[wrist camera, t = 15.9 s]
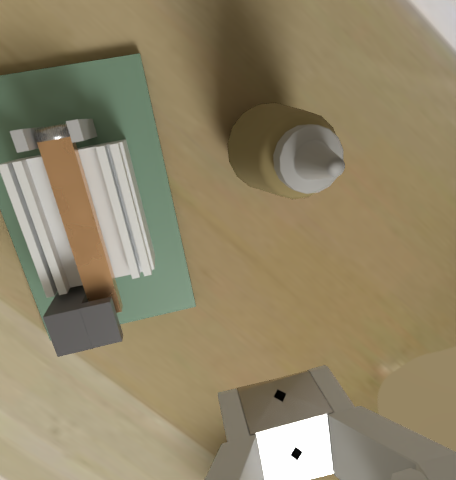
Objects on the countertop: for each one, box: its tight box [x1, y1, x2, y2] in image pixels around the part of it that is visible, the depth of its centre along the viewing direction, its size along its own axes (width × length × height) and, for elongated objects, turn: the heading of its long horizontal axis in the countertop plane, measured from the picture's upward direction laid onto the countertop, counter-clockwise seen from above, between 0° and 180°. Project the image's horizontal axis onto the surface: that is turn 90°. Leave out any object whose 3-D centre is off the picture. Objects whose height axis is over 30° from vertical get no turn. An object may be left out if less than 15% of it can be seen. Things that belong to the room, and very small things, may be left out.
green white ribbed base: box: [0, 53, 196, 340], centre depth 35 cm, size 26×16×8 cm, turn 10°
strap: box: [35, 123, 123, 313], centre depth 33 cm, size 17×3×1 cm, turn 10°
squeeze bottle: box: [228, 103, 345, 199], centre depth 31 cm, size 8×8×18 cm
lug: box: [43, 285, 123, 357], centre depth 36 cm, size 4×6×8 cm
